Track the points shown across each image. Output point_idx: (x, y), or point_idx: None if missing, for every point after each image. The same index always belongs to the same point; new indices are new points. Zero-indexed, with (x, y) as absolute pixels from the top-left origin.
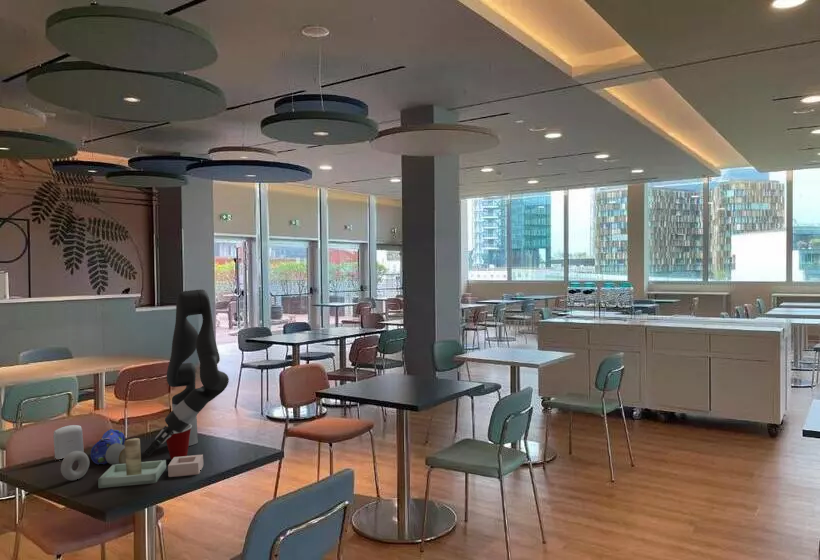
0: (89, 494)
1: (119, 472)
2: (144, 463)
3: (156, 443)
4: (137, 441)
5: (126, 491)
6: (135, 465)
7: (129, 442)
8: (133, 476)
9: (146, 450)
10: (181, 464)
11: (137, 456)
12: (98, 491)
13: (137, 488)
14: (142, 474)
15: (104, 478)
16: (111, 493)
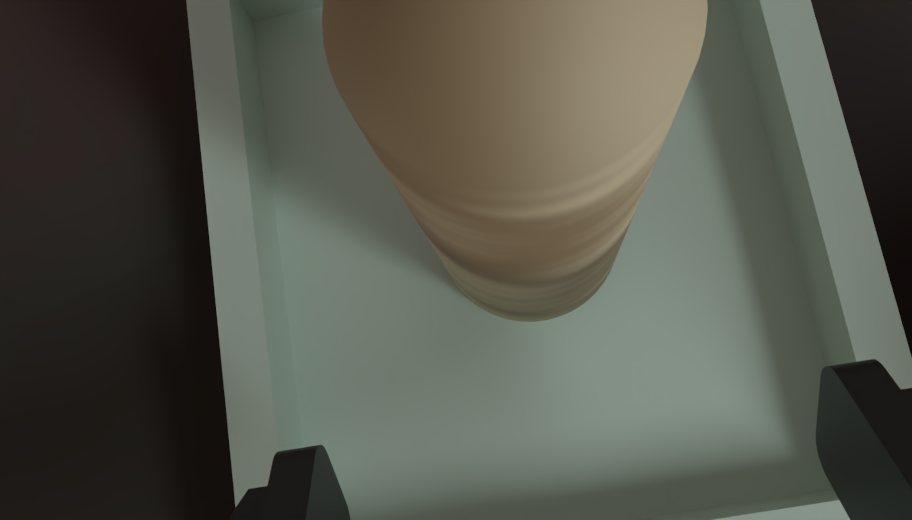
0: (63, 13)
1: None
2: (820, 237)
3: (877, 511)
4: (440, 181)
5: (64, 366)
6: (441, 259)
7: (326, 25)
8: (222, 348)
9: (266, 509)
10: None
11: (455, 257)
12: (131, 58)
13: (135, 455)
14: (261, 451)
15: (197, 15)
16: (39, 226)
